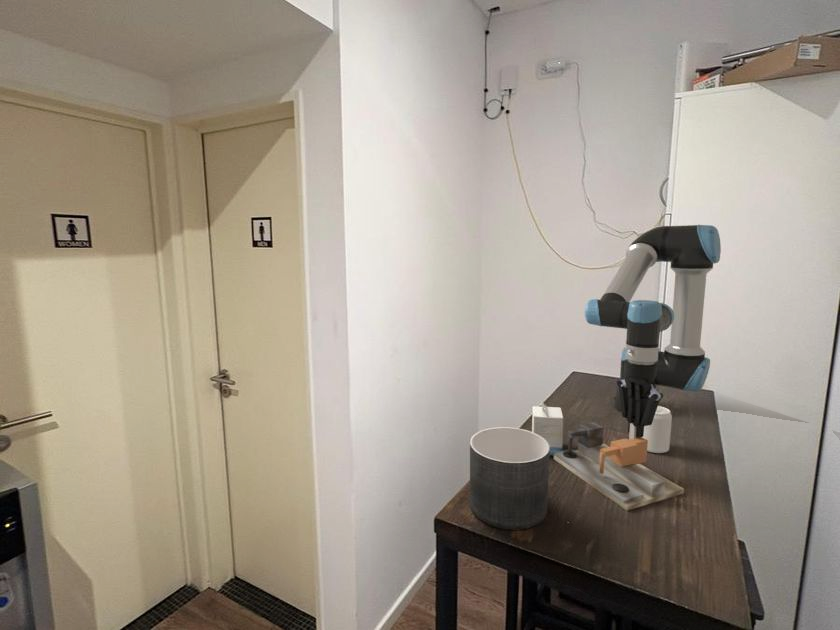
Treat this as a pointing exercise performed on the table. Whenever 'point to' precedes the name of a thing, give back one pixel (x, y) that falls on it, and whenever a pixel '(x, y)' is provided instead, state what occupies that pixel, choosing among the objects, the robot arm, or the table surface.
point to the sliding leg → (625, 452)
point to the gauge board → (613, 471)
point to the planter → (509, 477)
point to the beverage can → (659, 431)
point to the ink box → (549, 426)
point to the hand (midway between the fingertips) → (634, 446)
